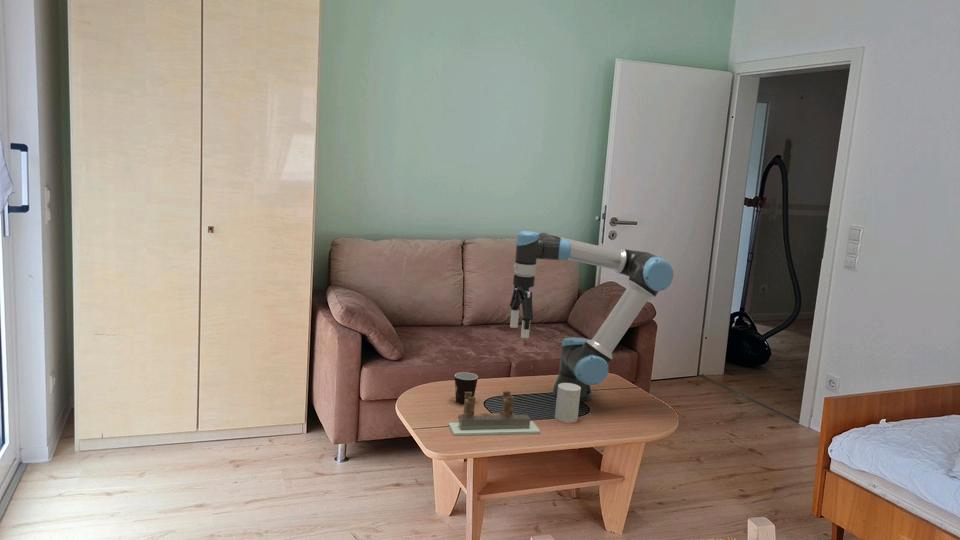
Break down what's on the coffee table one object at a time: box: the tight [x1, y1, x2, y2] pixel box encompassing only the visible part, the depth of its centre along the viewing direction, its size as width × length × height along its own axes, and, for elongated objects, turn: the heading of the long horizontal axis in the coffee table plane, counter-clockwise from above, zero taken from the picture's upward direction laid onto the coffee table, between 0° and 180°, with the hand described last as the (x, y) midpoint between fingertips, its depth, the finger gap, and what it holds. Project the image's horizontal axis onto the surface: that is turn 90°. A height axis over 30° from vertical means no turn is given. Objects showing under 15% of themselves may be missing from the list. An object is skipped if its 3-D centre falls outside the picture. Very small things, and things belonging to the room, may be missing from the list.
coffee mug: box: [454, 371, 479, 406], centre depth 271 cm, size 12×9×10 cm
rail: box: [458, 414, 531, 430], centre depth 247 cm, size 24×4×4 cm, turn 104°
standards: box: [458, 390, 515, 418], centre depth 255 cm, size 20×6×9 cm, turn 104°
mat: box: [447, 420, 542, 437], centre depth 247 cm, size 30×9×1 cm, turn 104°
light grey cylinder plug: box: [554, 383, 581, 424], centre depth 261 cm, size 8×8×12 cm
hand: (519, 332), depth 263 cm, fingers open, 13 cm apart
